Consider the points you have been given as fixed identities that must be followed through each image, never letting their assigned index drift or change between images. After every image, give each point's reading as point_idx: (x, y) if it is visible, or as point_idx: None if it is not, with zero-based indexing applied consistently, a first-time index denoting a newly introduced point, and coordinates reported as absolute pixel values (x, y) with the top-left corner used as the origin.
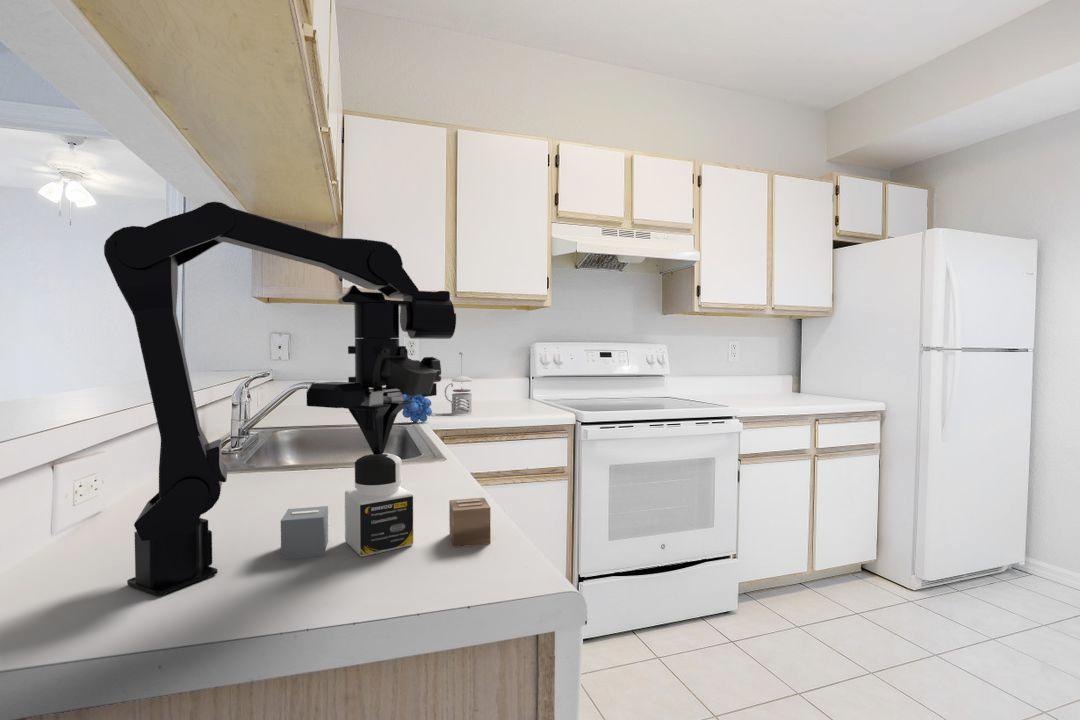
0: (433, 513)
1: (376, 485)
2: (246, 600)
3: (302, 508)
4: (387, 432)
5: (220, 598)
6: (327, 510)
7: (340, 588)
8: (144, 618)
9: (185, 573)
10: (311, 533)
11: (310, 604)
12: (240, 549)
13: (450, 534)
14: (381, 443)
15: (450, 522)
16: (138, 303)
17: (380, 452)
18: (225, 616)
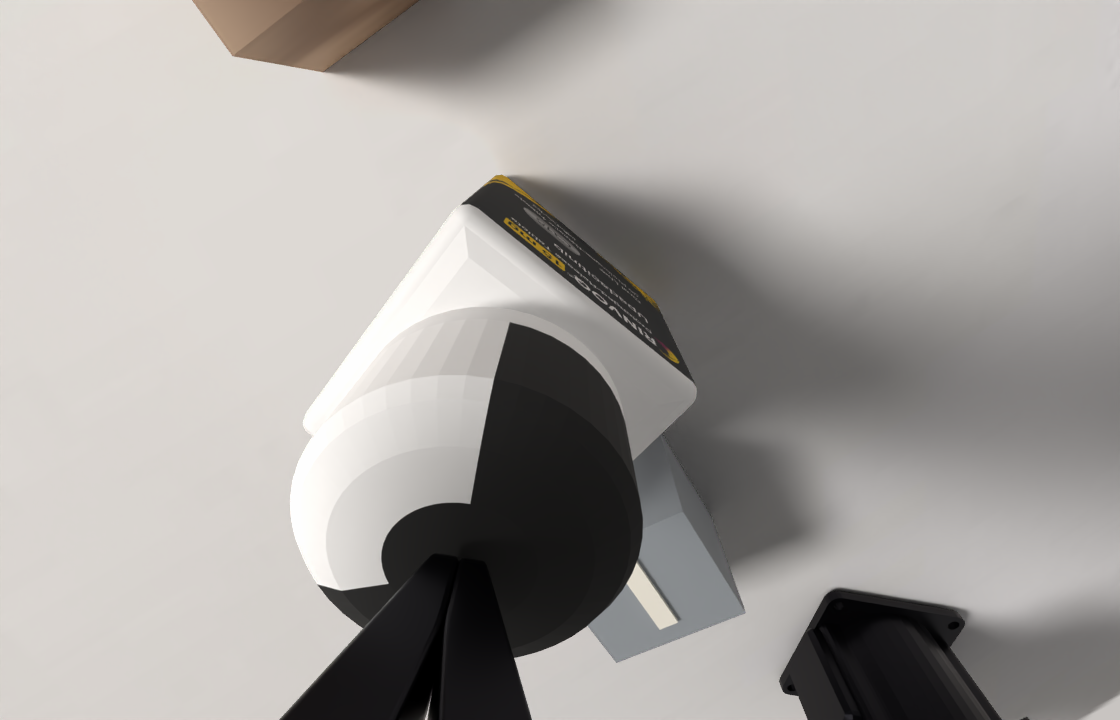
0: (125, 278)
1: (615, 395)
2: (978, 431)
3: (599, 628)
4: (353, 713)
5: (964, 495)
6: None
7: (902, 227)
8: (1059, 565)
9: (912, 631)
10: (690, 503)
11: (1014, 250)
12: None
13: (350, 45)
14: (466, 626)
15: (328, 36)
16: None
17: (473, 565)
18: (1068, 419)
